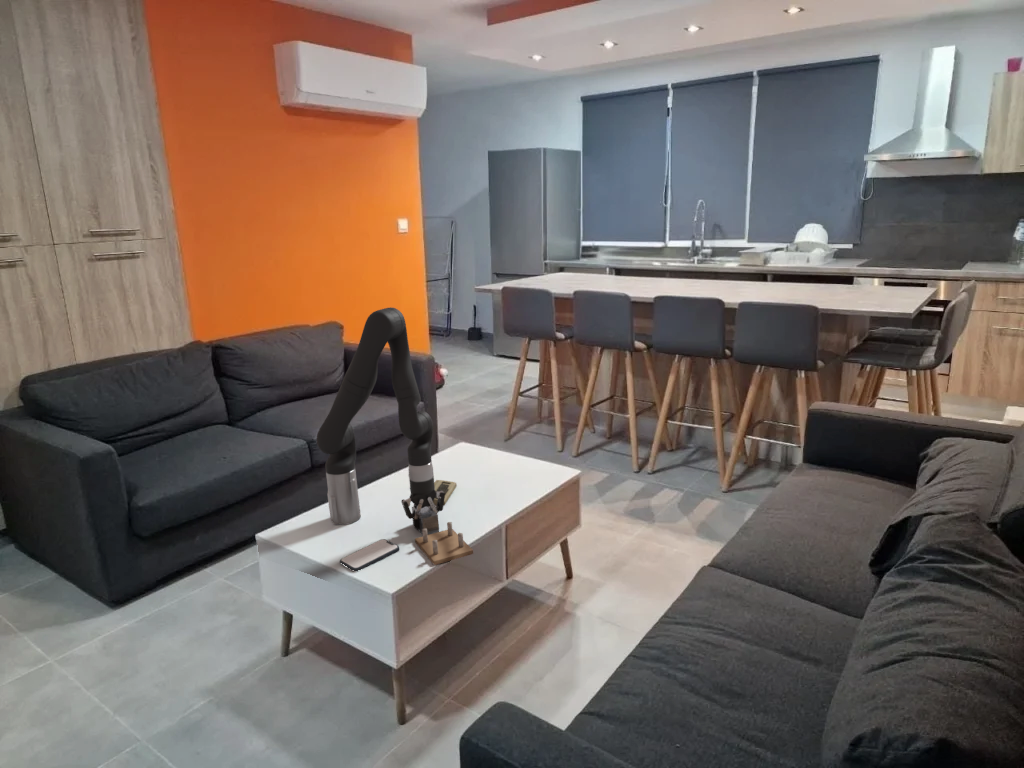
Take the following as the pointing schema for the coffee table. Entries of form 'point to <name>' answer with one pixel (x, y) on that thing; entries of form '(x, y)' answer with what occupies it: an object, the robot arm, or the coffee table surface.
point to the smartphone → (370, 555)
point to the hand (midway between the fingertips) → (425, 526)
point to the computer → (444, 489)
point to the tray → (443, 545)
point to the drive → (428, 520)
